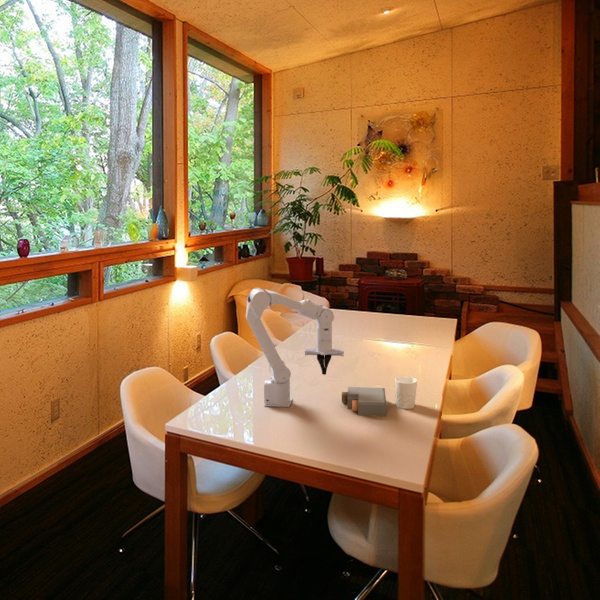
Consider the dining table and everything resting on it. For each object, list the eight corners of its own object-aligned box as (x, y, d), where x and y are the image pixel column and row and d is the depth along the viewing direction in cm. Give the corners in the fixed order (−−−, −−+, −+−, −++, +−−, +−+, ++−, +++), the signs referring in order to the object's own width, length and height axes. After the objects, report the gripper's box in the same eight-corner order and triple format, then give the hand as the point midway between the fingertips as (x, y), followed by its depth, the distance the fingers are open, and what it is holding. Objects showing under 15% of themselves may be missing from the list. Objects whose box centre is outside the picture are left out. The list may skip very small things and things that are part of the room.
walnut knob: (341, 403, 192) (341, 393, 191) (342, 399, 196) (342, 390, 195) (371, 404, 191) (371, 394, 190) (371, 400, 194) (371, 391, 194)
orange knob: (352, 412, 184) (352, 402, 183) (352, 408, 187) (352, 398, 187) (383, 413, 182) (383, 403, 182) (383, 409, 186) (383, 399, 185)
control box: (346, 414, 183) (346, 401, 182) (348, 399, 197) (348, 386, 196) (385, 416, 181) (386, 402, 180) (384, 400, 195) (384, 388, 194)
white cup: (400, 411, 185) (401, 384, 183) (390, 402, 193) (391, 377, 191) (420, 408, 187) (421, 382, 185) (409, 400, 195) (410, 375, 193)
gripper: (303, 341, 190) (304, 376, 193) (343, 342, 188) (343, 377, 191) (305, 336, 197) (306, 370, 199) (344, 337, 195) (343, 371, 198)
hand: (324, 373), depth 196 cm, fingers closed
